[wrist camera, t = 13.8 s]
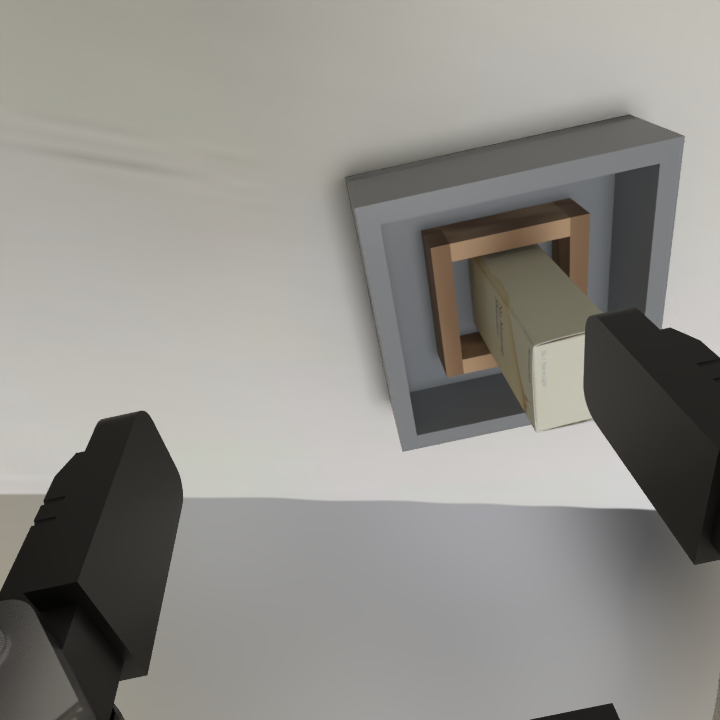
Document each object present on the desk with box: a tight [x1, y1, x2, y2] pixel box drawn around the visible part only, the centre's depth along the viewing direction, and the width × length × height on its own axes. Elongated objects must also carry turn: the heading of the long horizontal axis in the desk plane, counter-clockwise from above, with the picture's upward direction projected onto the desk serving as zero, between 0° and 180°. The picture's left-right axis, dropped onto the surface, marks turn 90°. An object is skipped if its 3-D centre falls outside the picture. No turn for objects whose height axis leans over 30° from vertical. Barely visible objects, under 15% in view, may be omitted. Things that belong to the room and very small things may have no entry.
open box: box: [345, 115, 685, 452], centre depth 39 cm, size 18×18×6 cm
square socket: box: [421, 198, 590, 377], centre depth 39 cm, size 10×10×3 cm
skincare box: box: [468, 244, 602, 432], centre depth 35 cm, size 6×4×12 cm
